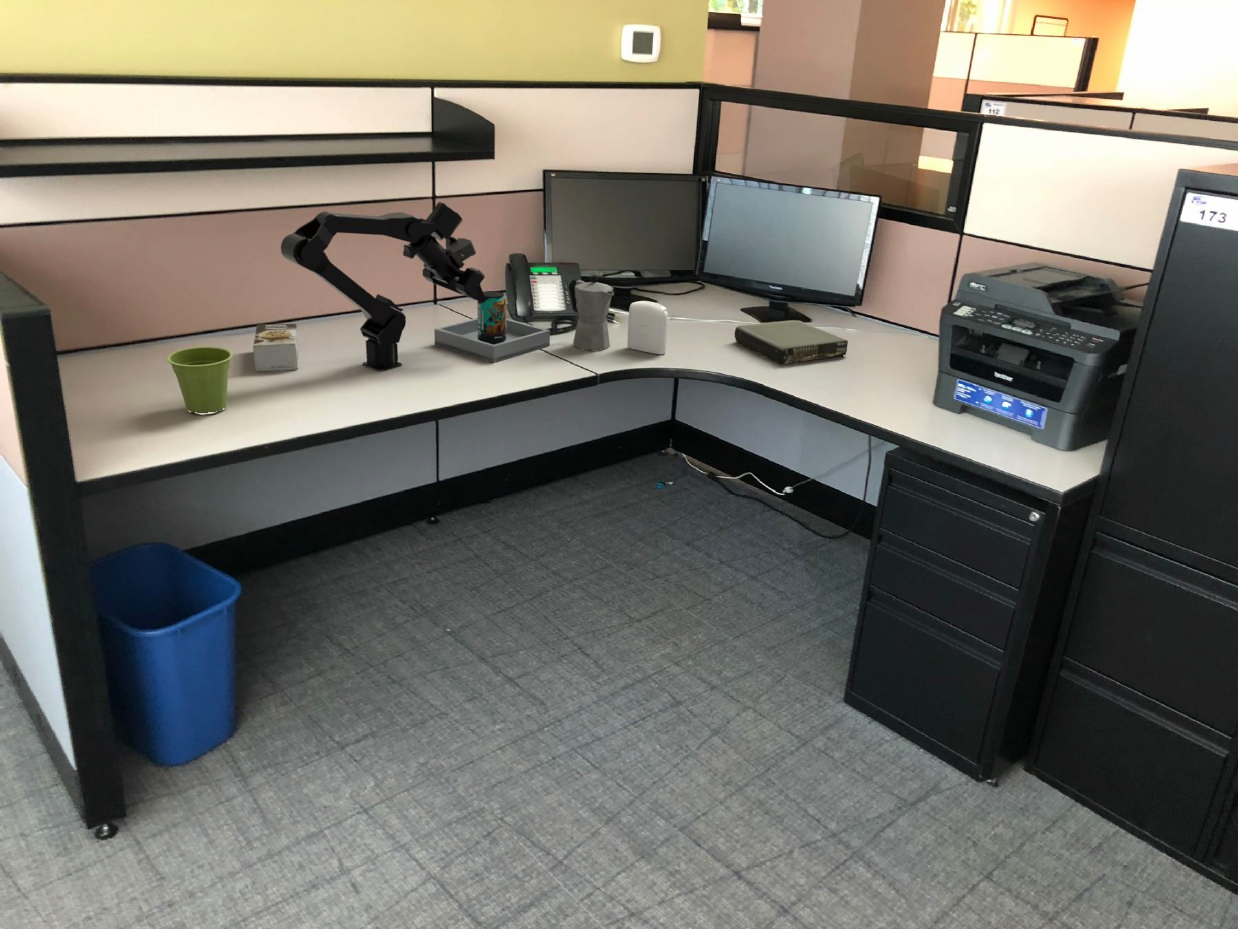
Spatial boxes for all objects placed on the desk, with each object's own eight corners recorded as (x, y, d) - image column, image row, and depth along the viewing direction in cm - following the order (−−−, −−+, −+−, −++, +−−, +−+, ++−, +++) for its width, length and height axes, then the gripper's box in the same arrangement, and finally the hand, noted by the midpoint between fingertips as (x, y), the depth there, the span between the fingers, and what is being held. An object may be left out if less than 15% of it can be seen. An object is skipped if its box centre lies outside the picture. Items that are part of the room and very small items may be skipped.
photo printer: (624, 348, 254) (626, 300, 249) (632, 344, 258) (635, 296, 253) (660, 356, 250) (663, 307, 245) (668, 352, 253) (672, 303, 248)
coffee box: (252, 344, 221) (255, 323, 235) (255, 372, 223) (258, 350, 237) (296, 342, 223) (296, 322, 237) (298, 370, 226) (298, 348, 240)
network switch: (788, 370, 246) (790, 350, 244) (724, 345, 263) (725, 326, 261) (853, 357, 259) (855, 338, 257) (787, 334, 276) (790, 316, 274)
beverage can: (505, 345, 247) (505, 297, 243) (476, 345, 247) (476, 296, 242) (506, 337, 254) (507, 290, 249) (478, 336, 253) (478, 289, 249)
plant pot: (164, 407, 201) (156, 353, 196) (222, 395, 209) (216, 343, 204) (189, 425, 193) (182, 368, 189) (248, 412, 201) (243, 357, 197)
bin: (493, 362, 238) (493, 346, 236) (434, 344, 249) (434, 328, 247) (549, 345, 253) (550, 330, 251) (491, 329, 264) (491, 314, 262)
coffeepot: (623, 348, 254) (627, 277, 247) (596, 355, 248) (599, 282, 240) (581, 334, 264) (583, 265, 256) (554, 340, 257) (556, 270, 250)
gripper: (477, 235, 226) (516, 279, 237) (432, 221, 239) (471, 263, 250) (447, 273, 224) (488, 316, 236) (404, 257, 237) (444, 298, 248)
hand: (473, 297), depth 242 cm, fingers open, 9 cm apart
